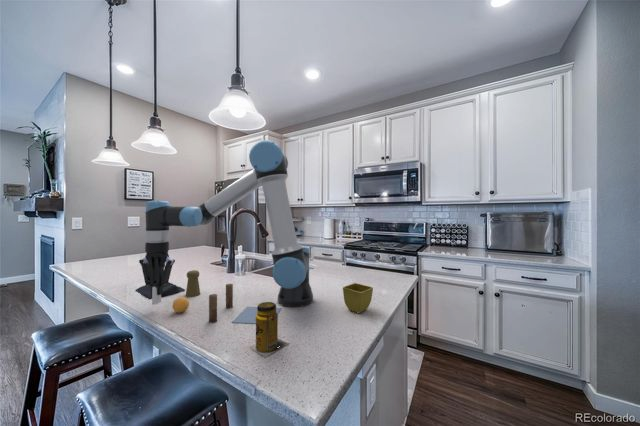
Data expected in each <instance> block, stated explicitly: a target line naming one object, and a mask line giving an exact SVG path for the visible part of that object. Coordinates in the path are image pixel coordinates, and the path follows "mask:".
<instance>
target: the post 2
mask: <svg viewBox="0 0 640 426" xmlns="http://www.w3.org/2000/svg"><path fill="white" fill-rule="evenodd" d="M233 287H234V284H233V283H227V284H225V309H232V308H233V306H234V305H233V303H234V302H233V300H234V298H233V296H234V293H233V292H234V291H233V289H234V288H233Z"/></svg>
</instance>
